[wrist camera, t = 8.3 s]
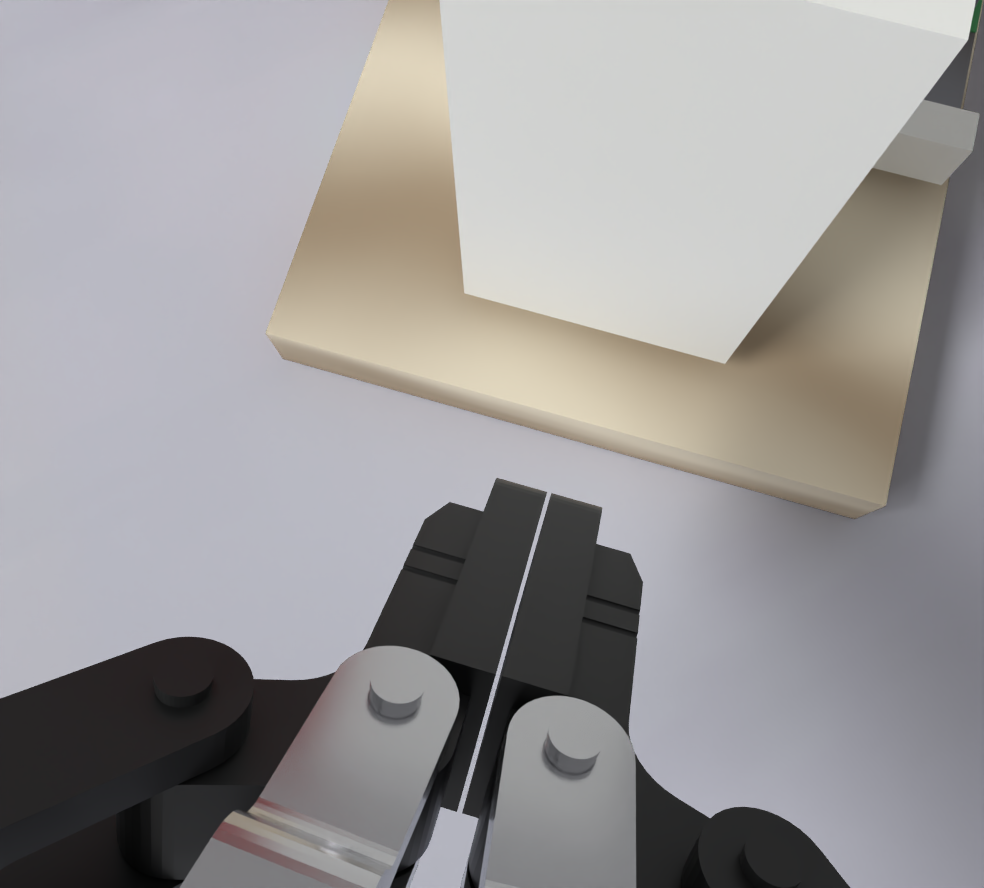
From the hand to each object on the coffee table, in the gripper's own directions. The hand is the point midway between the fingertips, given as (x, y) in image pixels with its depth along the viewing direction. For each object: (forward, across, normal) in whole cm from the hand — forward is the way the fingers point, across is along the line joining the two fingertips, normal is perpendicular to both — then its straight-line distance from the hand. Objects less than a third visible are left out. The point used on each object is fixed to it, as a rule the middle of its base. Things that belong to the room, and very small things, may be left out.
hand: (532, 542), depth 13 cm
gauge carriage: (+8, -2, -4) cm, 9 cm away
